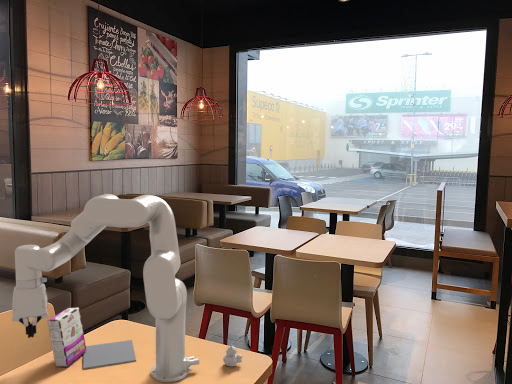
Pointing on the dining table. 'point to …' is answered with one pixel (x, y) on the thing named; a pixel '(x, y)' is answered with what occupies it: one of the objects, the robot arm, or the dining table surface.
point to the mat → (109, 354)
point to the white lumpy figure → (232, 356)
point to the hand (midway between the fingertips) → (31, 335)
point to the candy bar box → (67, 336)
